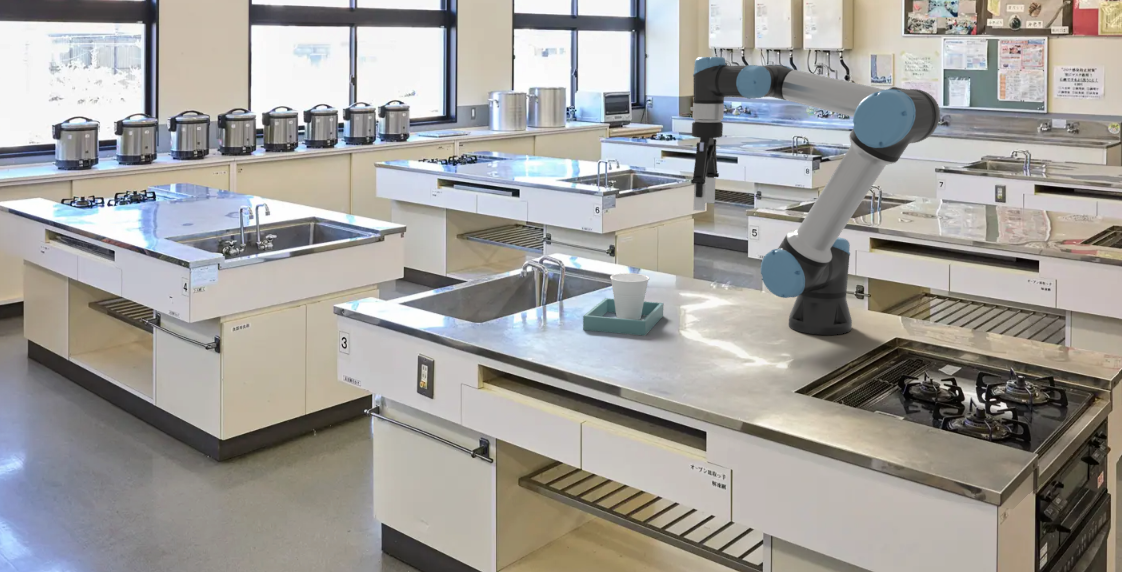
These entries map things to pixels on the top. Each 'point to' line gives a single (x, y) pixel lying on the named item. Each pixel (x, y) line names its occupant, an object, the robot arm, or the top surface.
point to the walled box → (619, 325)
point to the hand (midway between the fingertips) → (704, 206)
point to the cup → (629, 294)
